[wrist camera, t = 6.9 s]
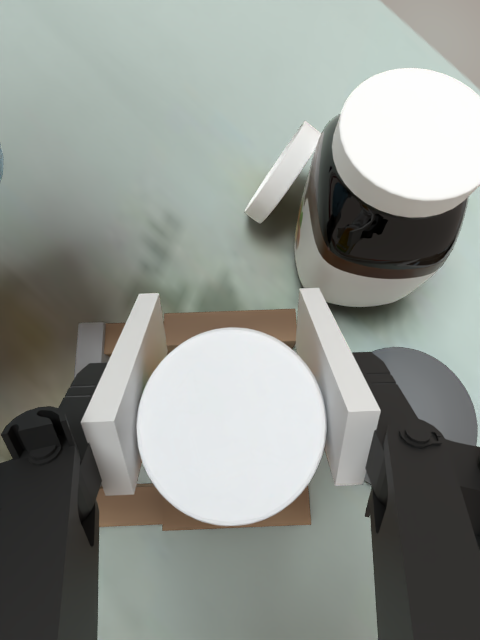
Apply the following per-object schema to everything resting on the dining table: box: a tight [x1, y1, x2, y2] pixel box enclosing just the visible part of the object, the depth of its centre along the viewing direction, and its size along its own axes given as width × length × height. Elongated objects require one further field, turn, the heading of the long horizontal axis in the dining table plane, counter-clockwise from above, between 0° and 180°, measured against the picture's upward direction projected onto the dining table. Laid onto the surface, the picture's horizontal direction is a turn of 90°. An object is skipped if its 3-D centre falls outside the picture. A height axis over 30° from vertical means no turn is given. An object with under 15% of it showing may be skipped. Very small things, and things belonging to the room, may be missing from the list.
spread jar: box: [244, 68, 480, 307], centre depth 21 cm, size 12×11×12 cm
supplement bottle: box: [136, 327, 327, 526], centre depth 12 cm, size 5×5×10 cm
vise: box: [74, 309, 311, 531], centre depth 22 cm, size 12×14×3 cm
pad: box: [364, 347, 477, 484], centre depth 23 cm, size 9×9×1 cm
